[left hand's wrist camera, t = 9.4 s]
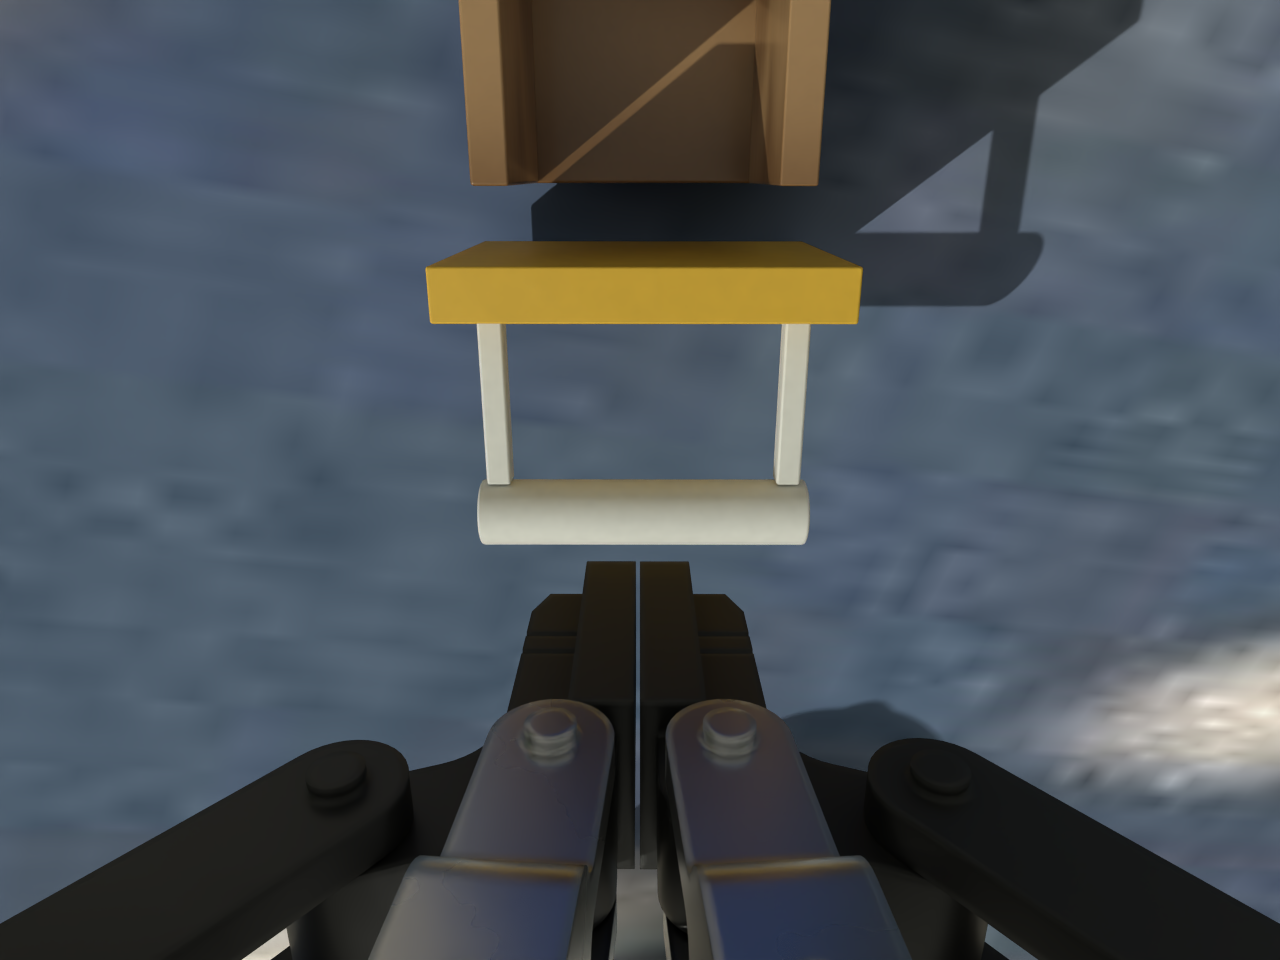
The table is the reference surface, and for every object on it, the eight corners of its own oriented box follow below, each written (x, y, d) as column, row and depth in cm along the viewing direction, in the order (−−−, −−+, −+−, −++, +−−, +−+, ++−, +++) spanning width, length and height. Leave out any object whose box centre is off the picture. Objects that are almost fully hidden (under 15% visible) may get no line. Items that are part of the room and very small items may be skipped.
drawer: (788, 474, 27) (836, 574, 20) (498, 474, 27) (451, 573, 20) (845, -419, 19) (952, -727, 13) (443, -418, 19) (339, -728, 13)
